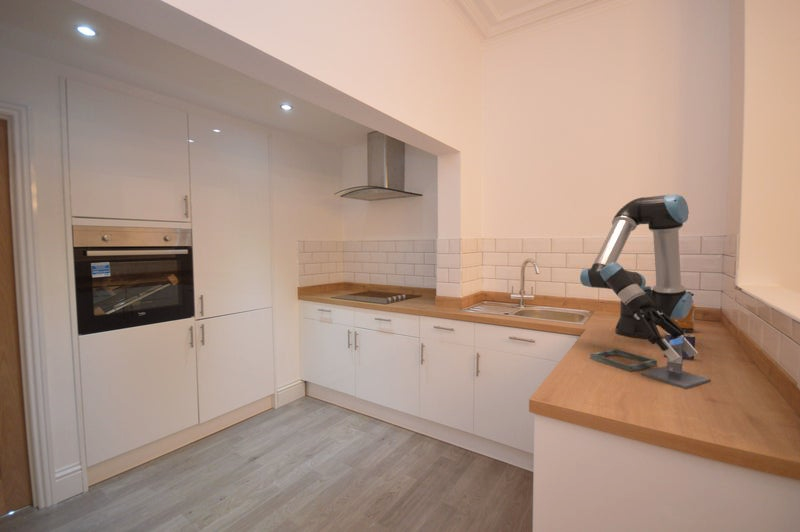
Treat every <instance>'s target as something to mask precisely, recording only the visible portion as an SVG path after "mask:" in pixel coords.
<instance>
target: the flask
mask: <svg viewBox="0 0 800 532" xmlns="http://www.w3.org/2000/svg"><path fill="white" fill-rule="evenodd" d="M684 337H685V339H686V340H687V341H688V342H689V343H690V344H691V345H692V346H693V347H694V349H695V346H696V336H694V335H692V334H690V333H687V334H686V333H685V334H684ZM664 339H665V340H666V341H667V342H668V343H669V340H673V339H676V338H674V337H673V336H672V335H670V334H669V333H668V332H666V333H665V334H664ZM695 350H696V349H695ZM663 357H665V358H668V357H667V356H666V354H665V353H664V352H663ZM687 359H689V361H695V355H693V356H692V357H689V356H688V355H687V354H686V352H685V351H684V350H683V360H687Z"/></svg>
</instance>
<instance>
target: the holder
mask: <svg viewBox="0 0 800 532" xmlns="http://www.w3.org/2000/svg"><path fill="white" fill-rule="evenodd" d="M616 354H618V356H620V355H621V356H620V357H624V358H627V357H628V358H627V359H631V360H634V361H637V360H638V363H637V362H636V363H633V364H626V363H625V362H621V361H617V360H614V359H611V358H608V357H611V355H612V356H615V355H616ZM606 356H607V357H606ZM616 356H617V355H616ZM589 357H590V358H589V359H591V360H593V361H596V362H599V363H603V364H605V363H606V364H605V365H608V364H609V366H611V365H612V367H615V368H618V369H622V370H624V371H628V372H633V371H639V370H642V369H647V368H651V367H655V366H658V360H657V359H654V358H649V357H646V356H644V355H641V354H635V353H633V352H628V351H625V350H621V349H618V348H614V349H608V350H604V351H599V352H592V353H590V354H589Z"/></svg>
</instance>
